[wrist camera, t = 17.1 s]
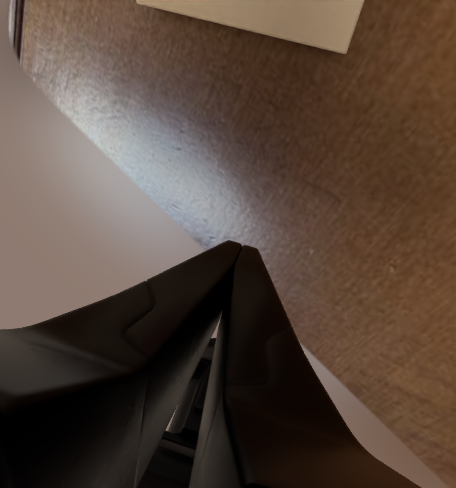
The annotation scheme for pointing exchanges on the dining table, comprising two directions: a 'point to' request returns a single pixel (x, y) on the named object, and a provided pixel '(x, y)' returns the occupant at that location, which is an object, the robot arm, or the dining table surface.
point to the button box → (278, 18)
